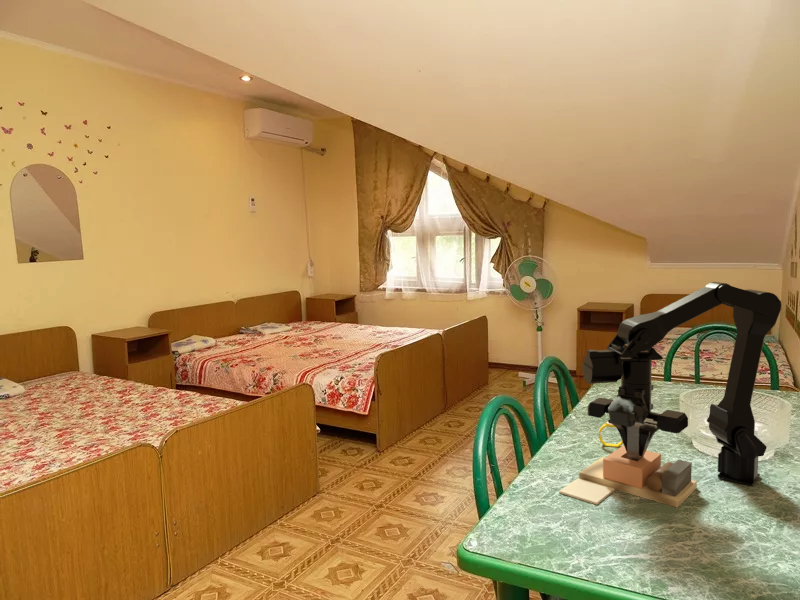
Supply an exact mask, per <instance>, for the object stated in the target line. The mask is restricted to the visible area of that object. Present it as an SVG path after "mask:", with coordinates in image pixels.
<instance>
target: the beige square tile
mask: <svg viewBox="0 0 800 600" xmlns="http://www.w3.org/2000/svg"><path fill="white" fill-rule="evenodd" d="M615 491H616V490H615V489H614V488H611V487H607V486H604V485H600V484H597V483H593V482H590V481H586V480H583V479H580V478H576V479H575V480H573V481H572V482H570V483H569V484H567V485H566V486H565V487H563V488H561V489H560V490H559V494H562V495H565V496H568V497H570V498H573V499H576V500H577V499H578V500H581V501H584V502H587V503H590V504H594V505H598V504H600V503H602V501H603V500H605V499H606V498H607V497H609V496H610V495H611V494H612V493H613V492H615Z"/></svg>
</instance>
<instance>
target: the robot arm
mask: <svg viewBox="0 0 800 600" xmlns="http://www.w3.org/2000/svg"><path fill="white" fill-rule="evenodd" d="M720 305H724V306H726V307H730V308H732V309H733V310H732V317H733V321H734V324H735V328H736V337H735V341H734V346H733V351H732V357H731V361H730V366H729V371H728V375H727V381H726V385H725V390H724V394H723V398H722V400H720V401H719V403H718V404H714V403H711V404H710V405H709V415H708V417H707V419H706V423H708V429H709V431H710V432H711V433H712V435H713V436H714V437H715V438H716V441H717V443H718V444H721V445H722V446H721V447H720V449H721V450H720V452H718V453H717V472H718V473H719V474H717V478H718V479H721V480H725V481H730V482H732V483H733V482H734V483H737V484H742V485H746V486H749V487H752V486H754V485H755V483H756V482H757V481H758V480H759V478H760V477H761V474H760V473H759V457H764V456H765V453H766V452H767V451H766V450H767V448H768V447H767V445H766V444H765V443H763V441H761V439H760V438H758V437H757V436H756V435H755V428H756V427H755V426H756V424H755V423H756V421H755V420H756V419H755V417H754V414H753V410H752V406H751V405H752V400H753V395H754V389H755V383H756V380H757V376H758V375H757V374H758V370H759V366H760V365H759V364H760V360H761V356H762V352H763V351H762V350H763V347H764V341H765V337H766V336H767V335H768V334H769V332H770V331H771V330H772V329H773V328H774V327H775V325H776V323H777V321H778V319H779V316H780V314H781V311H782V301H781V300H780V298H779V297H778V295H776V294H774V293H773V292H769V291H764V290H756V289H750V288H749V289H742V288H739V287H735V286H732V285H730V284H729V283H725V282H719V281H710V282H709V283H707V284H706V285H705V286H704V287H701V288H700V289H697V290H696V291H694V292H692V293H690V294H688V295H687V296H684V297H682V298H681V299H678V300H677V301H675V302H672V303H669V305H666V306H665V307H662V308H661V309H659V310H657V311H653V312H650V313H644V314H638V315H635V316H633V317H629V318H626V319H624V320H623V321H622V322H620V324H619V325H618V326H619V327H618V329H617V333H616V335H615V336H614V337H613V339H612V340H611V342H610V343H609V344H608V345H607V347H606V349H599V350H598V349H587V350H586V355H585V357H584V359H583V362H582V364H581V366H582V367H581V368H582V369H581V370H582V375H583V378H584V379H583V380H584V381H585V382H586V383H587V384H590V385H591V384H606V383H607V384H608V383H611V384H613V383H617V382H618V381H619V380H621V381H620V385H619V386H618V390H617V396H616V398H614V399H610V398H604V397H598V398H596V399H594V400H592V401H590V402H589V403H588V405H587V416H588V417H593V418H599V419H601V418H602V417H603V416H605V415H606V414H608V417H609V419H608V420H607V421H608V422H609V423H610V424H613V425H614V426H615V427H614V428H616V430H617V431H618V434H619V435H620V438H621V441H623V444H622V445H624V446H625V449H626V452H627V427H632V426H634V424H635V422H636V421H642V422H644V425H643V426H641V427H640V428H639V429H640V432H641V441H640V456H644V454H645V452H646V451H648V450H647V449H648V447H649V446H650V443H651V441H652V439H653V437H654V435H655V433H656V432H658V431H659V430H660V431H661V432H667V433H671V434H680V433H682V431H684V430H685V429H686V428H687V427H689V418H688V416H687V414H686V413H685V412H681V411H677V410H670V409H666V410H664V411H663V412H661V413H658V412H653V411H652V410H653V409H654V403H652V391H653V390H654V384H652V364H653V363H652V361H661V360H663V358H664V357H663V356H662V355H661V354H659V353H658V352H657V350H656V349H655V348H654V347H655V346H657V344H659V343H660V342H662V341H663V340H664V339H665V338H666V336H667V335H668V334H669V332H671V331H672V330H673V329H676V328H677V327H679V326H681V325H684V324H685V323H687V322H690V321H691V320H693V319H695V318H697V317H699V316H701V315H703V314H705V313H707V312H709V311H710V310H712V309H714V308H716V307H718V306H720ZM625 346H626V347H625Z"/></svg>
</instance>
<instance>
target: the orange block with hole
mask: <svg viewBox="0 0 800 600" xmlns="http://www.w3.org/2000/svg"><path fill="white" fill-rule="evenodd" d="M660 467H662V454H661V453H658V452H654V451H650V450H646V452H645V454H644V456H643V457H642V458H641V459H640V460H639V461H634V460H630V459H627V452H626V449H625V446H624V444H622V445H621V446H619V447H618V448H617V449H616V450H614V451H613V452H611V453H609V454H608V455H607V456H605V458H604V459H603V478H607V479H610V480H614V481H617V482H621V483H624V484H628V485H632V486H635V487H639V488H643V487H644V486H645V485H646V484H647V483H646V481H647V478H648V477H649V476H651V475H652V474H653V473H654V472H655V471H657V470H658V469H659V468H660Z"/></svg>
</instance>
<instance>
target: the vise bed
mask: <svg viewBox="0 0 800 600" xmlns="http://www.w3.org/2000/svg"><path fill="white" fill-rule="evenodd" d="M604 458H606V456H602V457H600V458H598V459H597V460H596V461H594V462H593V463H591V464H589V465H588V466H587V467H585V468H584V469H582V470H580V471H579V472H578V475H579V476H578V477H579V478H580V479H583V480H586V481H590V482H593V483H597V484H600V485H604V486H607V487H611V488H614V489H615V491H619V492H622V493H626V494H629V495H633V496H636V497H639V496H640V498H643V499H646V498H647V499H646V500H649V501H653V500H654V502H658V503H660V504H664V505H668V506H672V507H674V508H678V507H680V505H682V503H684V501H685V500H687V498H688V497H689V496H690V495H691V494H693V492H694V491H696V489H697V485H698V484H697V483H698V482H697V480H694V479H692V468H693V467H692V462H691V461H687V460H684V459H678V460H676V461H675V462H674V463H673V462H670V461H667V462H665V463H664V464H663V465H661V467H660V468H659V469H658V470H657V471H655V472H654V473H653V474H652V475H651V476H649V477H648V478H647V481H646V483H647V484H646V485H645V486H644V487H643V488H639V487H635V486H632V485H628V484H624V483H621V482H617V481H614V480H610V479H607V478H603V459H604Z"/></svg>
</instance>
